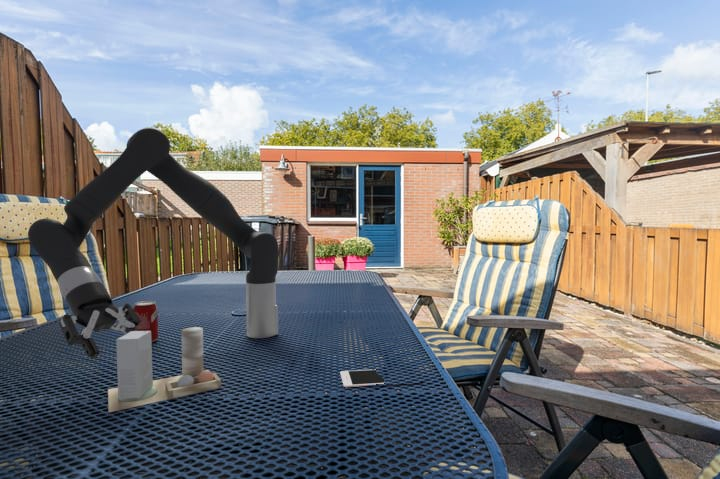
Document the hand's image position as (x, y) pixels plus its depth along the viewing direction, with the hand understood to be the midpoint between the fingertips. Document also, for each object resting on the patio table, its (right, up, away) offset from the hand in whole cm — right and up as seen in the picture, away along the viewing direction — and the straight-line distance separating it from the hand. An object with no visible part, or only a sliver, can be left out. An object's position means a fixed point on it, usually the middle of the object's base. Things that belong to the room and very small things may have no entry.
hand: (117, 350), depth 82 cm
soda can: (-15, -8, +37) cm, 41 cm away
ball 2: (+18, -8, +2) cm, 20 cm away
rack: (+10, -9, 0) cm, 13 cm away
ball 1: (+15, -8, -1) cm, 17 cm away
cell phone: (+55, -10, +9) cm, 57 cm away
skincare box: (+5, -8, -2) cm, 10 cm away
